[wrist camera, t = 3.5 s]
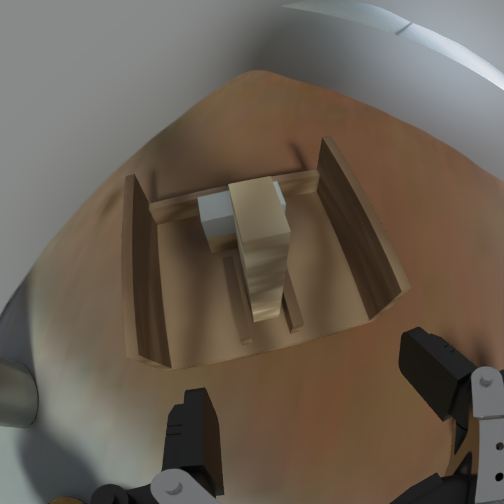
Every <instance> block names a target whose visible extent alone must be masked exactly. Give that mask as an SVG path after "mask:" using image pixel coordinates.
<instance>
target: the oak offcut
mask: <svg viewBox="0 0 504 504" xmlns="http://www.w3.org/2000/svg"><path fill="white" fill-rule="evenodd" d="M207 241H208V244H209V247H210V250H211V253H215V252H220V251H224V250H229V249H234V248H238V241H237V235H236V233H231V234H227V235H222V236H218V237H213V238H208V239H207Z"/></svg>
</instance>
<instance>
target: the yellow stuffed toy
mask: <svg viewBox="0 0 504 504" xmlns="http://www.w3.org/2000/svg"><path fill="white" fill-rule="evenodd" d="M48 504H84V503H82V502H81V501H79V500H77V499H74V498H70V497H58V498H56V499H55V500H54V501H52V502H50V503H48Z"/></svg>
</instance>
